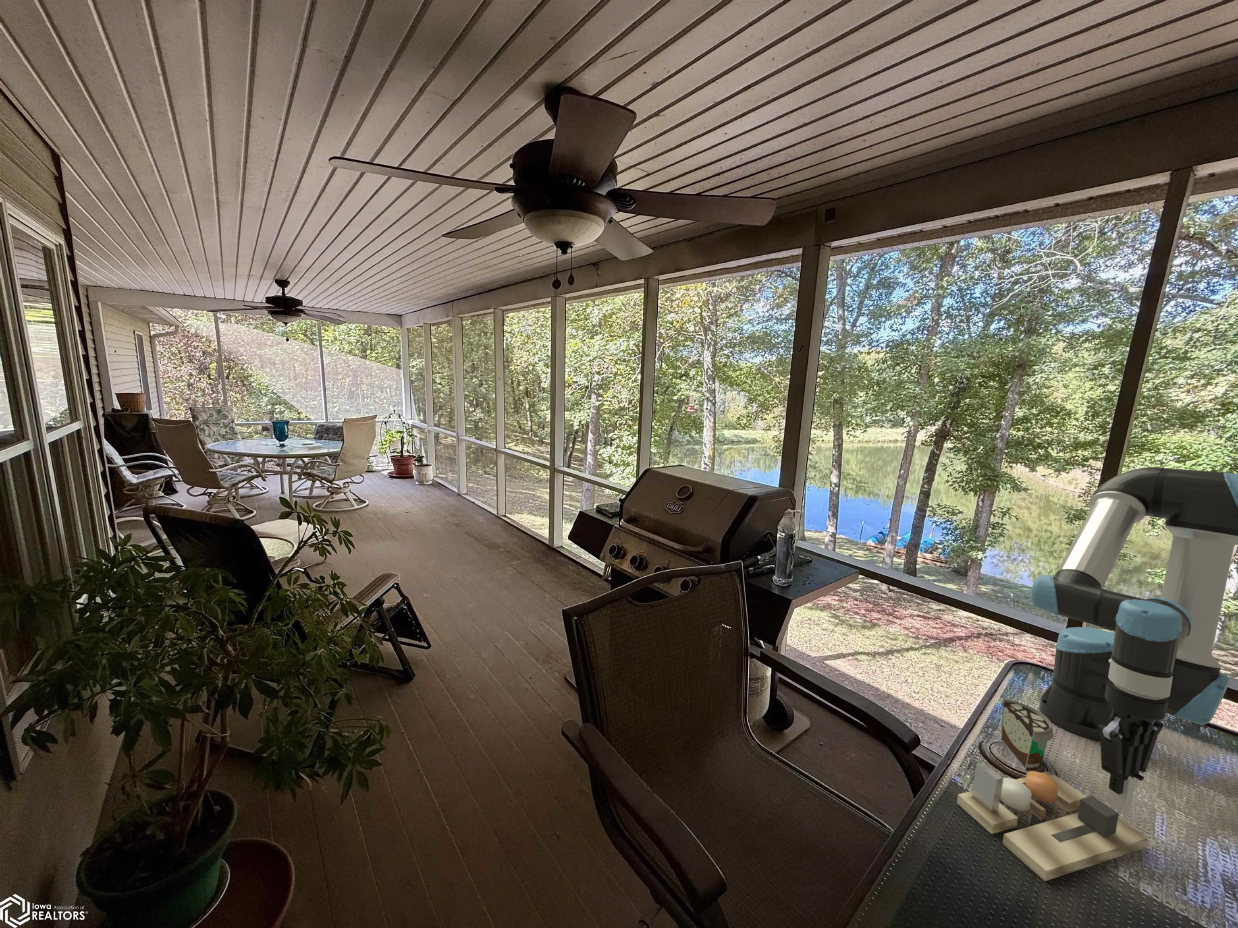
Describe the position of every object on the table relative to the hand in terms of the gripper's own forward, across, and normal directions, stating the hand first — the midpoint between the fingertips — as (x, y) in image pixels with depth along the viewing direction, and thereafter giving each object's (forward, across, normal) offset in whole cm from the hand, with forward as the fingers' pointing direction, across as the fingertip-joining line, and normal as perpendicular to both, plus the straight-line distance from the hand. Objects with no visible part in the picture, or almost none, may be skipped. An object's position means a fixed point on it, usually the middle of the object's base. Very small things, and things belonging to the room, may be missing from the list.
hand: (1117, 805), depth 89 cm
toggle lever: (+3, +20, -9) cm, 22 cm away
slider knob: (+3, +5, 0) cm, 6 cm away
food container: (+5, -4, -18) cm, 19 cm away
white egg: (+3, +14, -8) cm, 16 cm away
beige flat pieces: (+5, +11, -4) cm, 13 cm away
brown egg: (+3, +7, -8) cm, 11 cm away
